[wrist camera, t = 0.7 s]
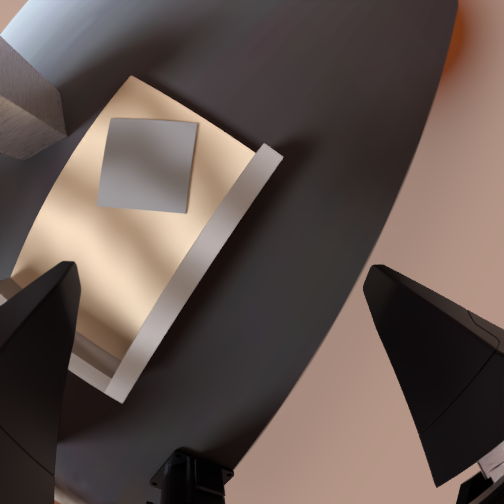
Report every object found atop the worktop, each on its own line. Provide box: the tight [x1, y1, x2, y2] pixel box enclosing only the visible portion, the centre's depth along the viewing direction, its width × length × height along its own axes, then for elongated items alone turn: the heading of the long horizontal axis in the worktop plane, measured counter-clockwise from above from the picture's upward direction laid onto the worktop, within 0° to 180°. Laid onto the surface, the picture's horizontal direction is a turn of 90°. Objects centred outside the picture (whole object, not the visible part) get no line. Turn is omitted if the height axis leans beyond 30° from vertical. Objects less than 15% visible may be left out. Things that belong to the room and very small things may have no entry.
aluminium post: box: [0, 36, 67, 161], centre depth 13 cm, size 4×4×12 cm
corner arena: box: [0, 76, 283, 403], centre depth 19 cm, size 20×13×4 cm, turn 146°
